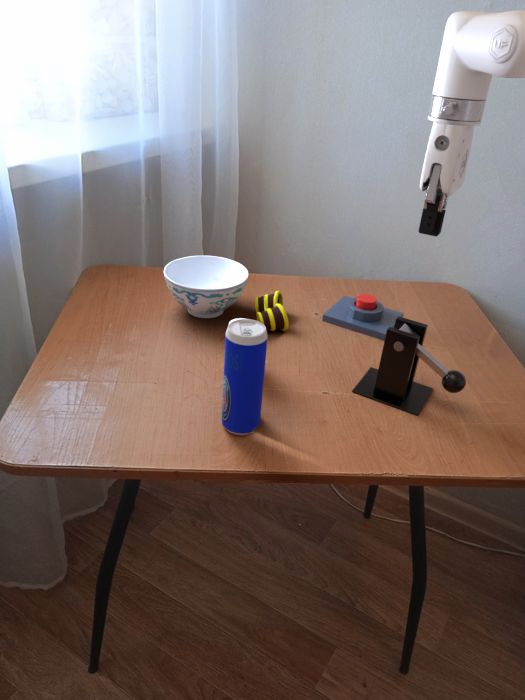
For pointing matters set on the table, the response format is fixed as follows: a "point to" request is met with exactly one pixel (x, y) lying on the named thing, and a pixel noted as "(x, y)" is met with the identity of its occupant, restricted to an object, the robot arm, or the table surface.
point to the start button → (366, 302)
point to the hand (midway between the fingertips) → (429, 233)
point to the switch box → (361, 317)
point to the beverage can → (243, 375)
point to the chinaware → (205, 283)
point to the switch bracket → (397, 370)
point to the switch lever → (440, 368)
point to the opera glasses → (271, 311)
